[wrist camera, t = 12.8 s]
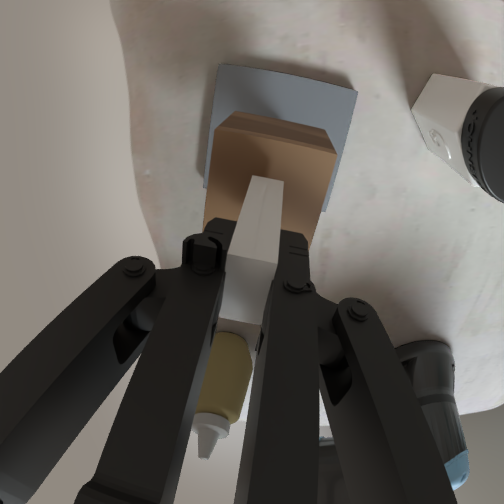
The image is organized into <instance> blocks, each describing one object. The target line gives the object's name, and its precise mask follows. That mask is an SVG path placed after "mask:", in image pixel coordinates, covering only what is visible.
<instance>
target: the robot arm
mask: <svg viewBox="0 0 504 504" xmlns="http://www.w3.org/2000/svg"><path fill="white" fill-rule="evenodd" d="M283 186H284V181H280V180H275V179H270V178H265V177H260V176H254V175H252V178H251V181H250V184H249V187H248V191H247V194H246V197H245V200H244V203H243V206H242V209H241V212H240V215H239V218H238V221H233V220H228V219H223V218H217V217H215V218H213V219H212V220H210V221H209V222H207V224H206V226H205V228H204V231H203V233H200V234H193V235H191V236H189V237H187V238H186V239H185V240H184V241H183V249H182V265H181V266H180V267H178V268H174V269H155V265H154V264H153V262H152V261H151V260H149V259H147V258H144V257H141V256H131V257H127V258H124V259H122V260H120V261H118V262H117V263H116V264H115V265H114V266H112V267H111V268H110V269H109V270H108V271H107V272H106V273H104V274H103V275H102V276H101V277H100V278H99V279H98V280H96V281H95V282H94V283H93V284H92V285H91V286H90V287H89V288H87V289H86V290H85V291H84V292H83V293H82V294H81V295H80V296H78V297H77V298H76V299H75V300H74V301H73V302H72V303H71V304H70V305H69V306H68V307H66V308H65V309H64V310H63V311H62V312H61V313H60V314H59V315H58V316H57V317H56V318H55V319H54V320H53V321H52V322H50V323H49V324H48V325H47V326H46V327H45V328H44V329H43V330H42V331H41V332H40V333H39V334H38V335H37V336H36V337H35V338H34V339H33V340H32V341H31V342H30V343H29V344H28V345H27V346H26V347H25V348H24V349H23V350H22V351H21V352H20V353H19V354H18V355H17V356H16V357H15V358H14V359H13V360H12V361H11V363H9V364H8V366H7V367H6V368H5V369H4V370H3V371H2V372H1V373H0V504H25V503H27V502H28V500H29V499H30V498H31V497H32V496H33V494H34V493H35V492H36V491H37V489H38V488H39V487H40V485H41V484H42V483H43V481H44V480H45V478H46V477H47V476H48V474H49V473H50V472H51V470H52V469H53V468H54V466H55V465H56V464H57V462H58V461H59V460H60V458H61V457H62V456H63V454H64V453H65V451H66V450H67V449H68V447H69V446H70V445H71V443H72V442H73V441H74V440H75V438H76V437H77V436H78V434H79V433H80V432H81V430H82V429H83V428H84V426H85V425H86V424H87V422H88V421H89V420H90V418H91V417H92V416H93V414H94V413H95V412H96V411H97V409H98V408H99V407H100V405H101V404H102V403H103V401H104V400H105V399H106V398H107V396H108V395H109V394H110V392H111V391H112V390H113V389H114V387H115V386H116V385H117V383H118V382H119V381H120V379H121V378H122V377H123V376H124V374H125V373H126V372H127V371H128V369H129V368H130V367H131V365H132V364H133V363H134V362H135V360H136V359H137V358H138V357H139V355H140V354H141V356H140V358H139V360H138V363H137V365H136V368H135V370H134V372H133V375H132V377H131V379H130V382H129V384H128V387H127V389H126V392H125V394H124V397H123V399H122V402H121V404H120V407H119V409H118V412H117V415H116V417H115V420H114V423H113V425H112V428H111V431H110V433H109V436H108V439H107V441H106V444H105V447H104V449H103V452H102V455H101V458H100V460H99V463H98V466H97V469H96V472H95V474H94V476H93V478H92V479H91V480H90V481H89V482H87V483H86V484H85V485H83V487H82V488H81V489H80V491H79V492H78V495H77V497H76V499H75V502H74V504H173V502H174V498H175V494H176V490H177V485H178V481H179V477H180V473H181V469H182V464H183V460H184V456H185V452H186V448H187V444H188V440H189V436H190V431H191V428H192V423H193V419H194V415H195V411H196V407H197V403H198V399H199V395H200V391H201V387H202V383H203V379H204V376H205V372H206V368H207V364H208V360H209V356H210V352H211V348H212V344H213V340H214V336H215V333H216V328H217V321H218V316H219V317H220V318H225V319H230V320H235V321H240V322H245V323H250V324H255V325H261V324H262V327H261V331H260V334H259V338H258V341H257V345H256V349H255V351H257V353H256V360H255V367H254V374H253V381H252V388H251V395H250V402H249V409H248V415H247V422H246V429H245V436H244V442H243V449H242V455H241V461H240V468H239V474H238V480H237V486H236V493H235V499H234V504H457V501H456V498H455V494H454V492H453V490H455V489H456V488H458V487H459V486H461V485H462V484H463V483H464V482H465V481H466V480H467V478H468V475H469V462H468V449H467V447H466V442H465V438H464V434H463V429H462V425H461V421H460V418H459V413H458V409H457V406H456V402H455V398H454V371H455V361H454V358H453V355H452V352H451V350H450V348H449V347H448V346H447V345H446V344H444V343H441V342H438V341H419V342H414V343H410V344H407V345H404V346H401V347H399V348H396V349H394V347H393V345H392V343H391V341H390V339H389V337H388V335H387V333H386V331H385V329H384V327H383V325H382V323H381V321H380V319H379V317H378V315H377V313H376V311H375V310H374V309H373V307H372V306H371V305H369V304H368V303H367V302H365V301H363V300H360V299H357V298H345V299H343V300H342V301H340V302H339V305H338V304H336V303H333V302H331V301H329V300H326V299H325V298H323V297H321V296H320V295H319V294H317V293H316V289H315V286H314V284H313V283H312V282H311V281H310V268H309V251H308V241H307V239H306V238H305V236H304V235H303V234H302V233H298V232H293V231H288V230H283V229H280V228H281V215H282V201H283ZM319 389H320V392H321V396H322V399H323V403H324V406H325V410H326V414H327V417H328V421H329V424H330V428H331V431H332V435H333V437H327V438H324V437H319Z"/></svg>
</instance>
